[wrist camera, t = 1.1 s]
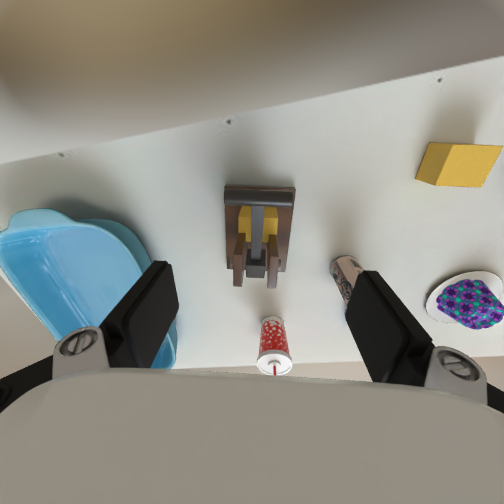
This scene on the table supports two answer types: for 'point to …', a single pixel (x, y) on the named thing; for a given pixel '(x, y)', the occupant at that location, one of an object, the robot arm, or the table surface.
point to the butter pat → (457, 164)
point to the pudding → (468, 300)
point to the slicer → (274, 247)
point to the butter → (268, 224)
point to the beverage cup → (273, 348)
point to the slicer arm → (257, 221)
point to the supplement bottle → (345, 275)
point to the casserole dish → (75, 270)
